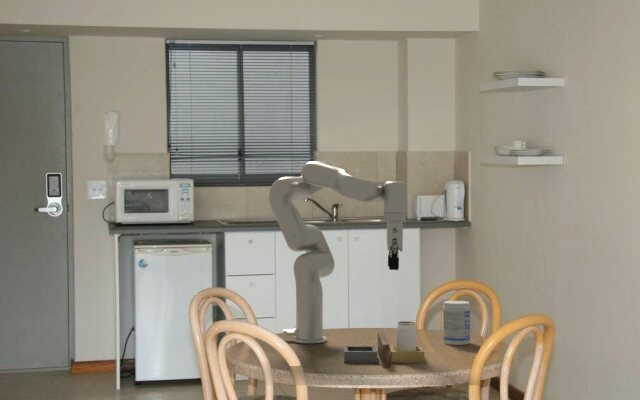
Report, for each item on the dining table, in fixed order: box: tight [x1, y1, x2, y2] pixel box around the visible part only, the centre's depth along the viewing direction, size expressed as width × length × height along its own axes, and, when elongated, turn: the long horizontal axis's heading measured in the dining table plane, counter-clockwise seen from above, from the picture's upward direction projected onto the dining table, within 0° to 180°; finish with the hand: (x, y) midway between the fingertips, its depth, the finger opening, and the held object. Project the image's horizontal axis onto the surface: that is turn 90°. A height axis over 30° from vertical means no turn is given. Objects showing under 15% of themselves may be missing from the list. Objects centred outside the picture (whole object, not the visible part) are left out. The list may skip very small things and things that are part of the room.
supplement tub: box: [442, 300, 471, 346], centre depth 343 cm, size 10×10×15 cm
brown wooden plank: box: [377, 331, 390, 368], centre depth 313 cm, size 2×24×7 cm, turn 0°
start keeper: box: [342, 345, 378, 364], centre depth 313 cm, size 10×10×4 cm
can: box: [395, 320, 417, 351], centre depth 313 cm, size 6×6×12 cm
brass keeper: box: [389, 345, 425, 364], centre depth 313 cm, size 10×10×4 cm
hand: (393, 268), depth 330 cm, fingers open, 9 cm apart
